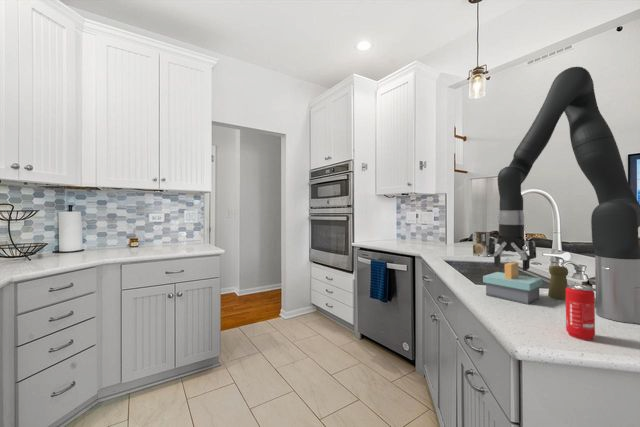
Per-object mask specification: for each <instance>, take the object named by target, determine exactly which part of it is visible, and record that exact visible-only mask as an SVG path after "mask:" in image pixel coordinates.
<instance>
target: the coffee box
mask: <svg viewBox="0 0 640 427" xmlns="http://www.w3.org/2000/svg"><path fill="white" fill-rule="evenodd" d="M491 236H492V235H491V231H473V232H472V253H473V254H472V256H474V255H483V256H482V257H484V256H488V255H491V256H492V254H489V253H488V250H489V239H490V238H492V237H491ZM488 257H489V256H488Z"/></svg>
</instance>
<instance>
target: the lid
mask: <svg viewBox="0 0 640 427" xmlns="http://www.w3.org/2000/svg"><path fill="white" fill-rule="evenodd" d="M482 283H485V284H486V283H490V284H496V285H501V286H507V287H512V288H517V289H523V290H528V291H530V290H532V289H535V288H537V287H539V288H540V287H541V286H543V278H540V277H539V278H538V277H533V276H527V275H522V274H521V275H519V262H516V261H510V262H508V263H504V272H500V271H496V272H492V273H489V274H486V275H485V274H484V275H483V276H482Z"/></svg>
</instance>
